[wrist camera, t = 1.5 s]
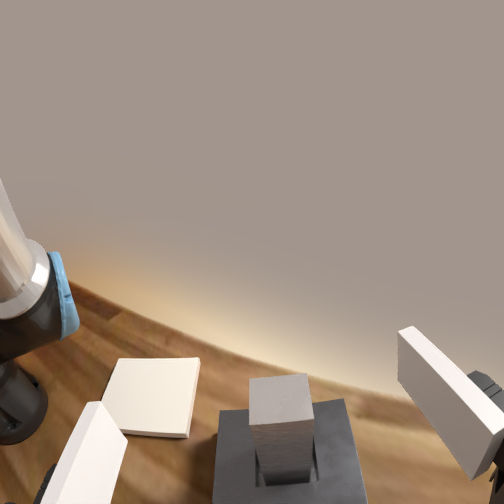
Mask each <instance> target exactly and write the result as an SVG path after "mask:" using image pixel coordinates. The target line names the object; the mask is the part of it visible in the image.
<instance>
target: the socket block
mask: <svg viewBox="0 0 504 504" xmlns="http://www.w3.org/2000/svg"><path fill="white" fill-rule="evenodd" d="M312 408H313V414H314V432H313V448H312V462H311V475H310V483H302V484H293V485H282V486H268V487H266V485H265V482H264V478H263V475H262V471H261V468H260V464H259V460H258V457H257V453H256V449H255V445H254V442H253V438H252V434H251V430H250V426H249V409H245V410H222V411H220V415H219V426H218V436H217V448H216V460H215V473H214V486H213V499H212V504H368V500H367V495H366V491H365V486H364V481H363V476H362V472H361V467H360V463H359V458H358V454H357V449H356V445H355V441H354V437H353V432H352V428H351V424H350V420H349V416H348V415H347V411H346V407H345V403H344V399H337V400H331V401H324V402H317V403H312Z"/></svg>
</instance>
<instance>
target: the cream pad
mask: <svg viewBox="0 0 504 504" xmlns="http://www.w3.org/2000/svg"><path fill="white" fill-rule="evenodd" d="M199 369H200V360H199V358H170V359H121V358H119V360H118V362H117V364H116V367H115V369H114V371H113V374H112V376H111V378H110V381H109V383H108V386H107V388H106V390H105V393H104V395H103V398H102V400H101V402H102V404H103V405H104V407H105V409H106V410H107V412H108V413H109V415H110V416H111V418H112V419H113V421H114V422H115V424H116V425H117V427H118V428H119V430H120V431H121V432H122V433H126V434H135V435H145V436H158V437H174V438H188V437H189V430H190V424H191V417H192V411H193V405H194V399H195V393H196V387H197V381H198V375H199Z"/></svg>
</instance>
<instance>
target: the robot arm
mask: <svg viewBox="0 0 504 504" xmlns="http://www.w3.org/2000/svg"><path fill="white" fill-rule="evenodd" d="M79 325H80V321H79V317H78V314H77V311H76V308H75V305H74V302H73V299H72V295H71V292H70V289H69V285H68V281H67V278H66V274H65V271H64V267H63V263H62V260H61V256H60V254H59V253H58V252H56V251H54V252H47V253H46V252H45V250H44V249H43V248H42V246H41V245H40V244H38V243H37V242H35V241H33V240H30V239H26V237H25V235H24V233H23V231H22V229H21V227H20V225H19V222H18V220H17V218H16V215H15V213H14V211H13V209H12V206H11V204H10V202H9V199H8V196H7V194H6V192H5V189H4V186H3V184H2V181H1V178H0V443H1V444H15V443H18V442H21V441H23V440H25V439H26V438H28V437H29V436H30V435H31V434H33V433H34V432H35V431H36V429H37V428H38V427H39V426H40V424H41V423H42V421H43V419H44V417H45V414H46V411H47V407H48V397H47V393H46V391H45V389H44V388H43V386H42V385H41V383H40V382H39V381H38V379H37V378H36V377H34V376H33V375H32V374H31V373H29V372H28V371H27V370H25V369H24V368H23V367H22V366H20V365H19V364H18V363H17V362H15V361H14V360H13V359H14V358H16V357H19V356H21V355H24V354H26V353H28V352H31V351H33V350H36V349H38V348H40V347H43V346H45V345H48V344H50V343H52V342H55V341H57V340H59V341H61V340H63V339H64V337H66V336H68V335H70V334H72V333H74V332H76V331H77V330H78V328H79ZM398 381H399V382H400V384H401V385H402V386H403V388H404V389H405V390H406V392H407V393H408V394H409V396H410V397H411V398H412V400H413V401H414V402H415V404H416V405H417V406H418V408H419V409H420V410H421V412H422V413H423V414H424V416H425V417H426V419H427V420H428V421H429V423H430V424H431V425H432V427H433V428H434V429H435V431H436V432H437V434H438V435H439V436H440V438H441V439H442V441H443V442H444V443H445V445H446V446H447V447H448V449H449V450H450V452H451V453H452V455H453V456H454V457H455V459H456V460H457V462H458V463H459V464H460V466H461V467H462V469H463V470H464V472H465V473H466V475H467V476H468V477H469V479H470V480H471V481H472V480H474V479H475V478H477V477H478V476H480V475H481V474H483V473H484V472H486V471H487V470H488V469H489V467H490V465H491V464H492V462H494V463H495V464H496V466H497V467H496V469H495V471H494V472H493V474H492V476H491V478H490V480H489V482H492V480H493V479H494V482H493V487H492V492H491V497H490V502H489V504H504V390H503V391H502V388H501V387H499V386H498V385H497V384H495V382H494V381H493V380H492V379H491V378H490V377H489V376H487V375H486V374H483V373H481V372H478V371H474V372H472V373H470V374H468V375H467V376H466V375H465V374H464V373H463V372H462V371H461V370H460V369H459V368H458V367H457V366H456V365H455V364H454V363H452V361H450V360H449V359H448V358H447V357H446V356H445V355H444V354H443V353H442V352H441V351H440V350H439V349H438V348H437V347H435V346H434V345H433V344H432V343H431V342H430V341H429V340H428V339H427V338H426V337H425V336H424V335H423V334H421V333H420V332H419V331H418V330H417V329H416V328H415V327H414V326H410V327H408V328H406V329H403V330H400V331H398ZM127 442H128V441H127V439H126V438H125V437H124V435H123V434H122V432H121V431H120V430H119V428H118V427H117V425H116V424H115V422H114V421H113V419H112V418H111V416H110V415H109V413H108V412H107V410H106V409H105V407H104V405H103V404H102V402H101V401H96V402H88V403H87V404H86V406H85V408H84V410H83V412H82V414H81V416H80V418H79V420H78V422H77V424H76V426H75V428H74V430H73V432H72V434H71V436H70V438H69V441H68V443H67V445H66V447H65V449H64V451H63V453H62V455H61V457H60V460H59V462H58V464H54V465H53V466H52V467H51V468H50V469H49V470H48V471H47V473H46V476H45V478H44V480H43V481H44V482H42V484H41V487H40V488H41V489H39V491H38V493H37V496H36V498H35V500H34V503H33V504H110V502H111V498H112V495H113V491H114V487H115V484H116V480H117V476H118V473H119V469H120V466H121V462H122V459H123V455H124V452H125V449H126V445H127ZM5 504H15V503H12V502H8V503H5Z"/></svg>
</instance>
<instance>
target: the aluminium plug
mask: <svg viewBox="0 0 504 504" xmlns="http://www.w3.org/2000/svg"><path fill="white" fill-rule="evenodd" d="M249 426H250V430H251V434H252V438H253V442H254V445H255V449H256V453H257V457H258V460H259V464H260V468H261V471H262V475H263V478H264V482H265V485H266V487H268V486H282V485H293V484H302V483H310V475H311V462H312V448H313V432H314V414H313V408H312V402H311V396H310V390H309V384H308V378H307V373H303V374H294V375H285V376H275V377H264V378H252V379H250V385H249Z"/></svg>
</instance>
